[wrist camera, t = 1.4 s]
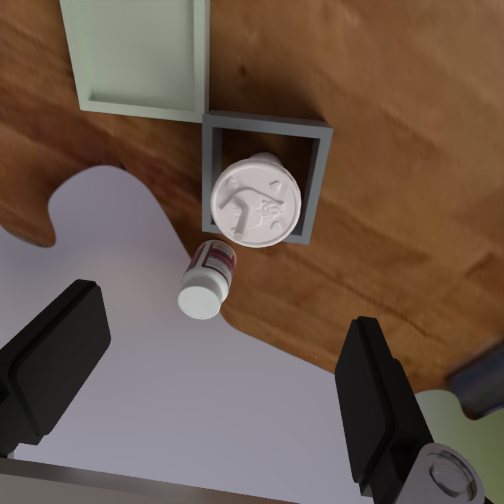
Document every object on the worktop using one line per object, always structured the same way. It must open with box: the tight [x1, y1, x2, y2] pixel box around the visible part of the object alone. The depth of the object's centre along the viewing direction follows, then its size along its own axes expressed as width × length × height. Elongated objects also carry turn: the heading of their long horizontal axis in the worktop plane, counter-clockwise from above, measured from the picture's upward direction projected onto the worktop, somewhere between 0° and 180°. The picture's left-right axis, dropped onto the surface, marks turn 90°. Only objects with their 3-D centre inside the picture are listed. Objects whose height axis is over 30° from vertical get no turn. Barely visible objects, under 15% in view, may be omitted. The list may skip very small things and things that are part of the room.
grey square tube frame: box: [202, 110, 334, 245], centre depth 26 cm, size 10×10×4 cm
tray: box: [60, 0, 210, 123], centre depth 23 cm, size 14×11×2 cm
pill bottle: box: [178, 240, 236, 319], centre depth 30 cm, size 5×5×8 cm
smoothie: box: [210, 152, 301, 247], centre depth 22 cm, size 6×6×14 cm
